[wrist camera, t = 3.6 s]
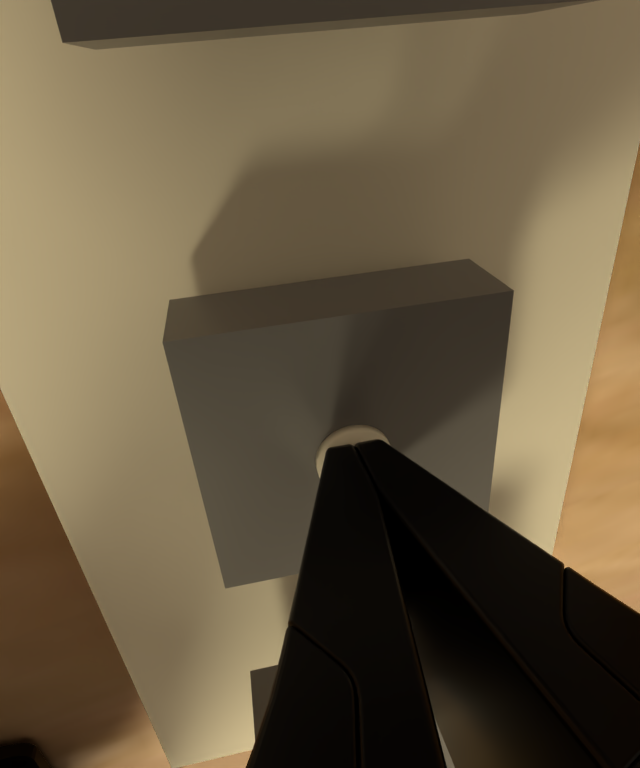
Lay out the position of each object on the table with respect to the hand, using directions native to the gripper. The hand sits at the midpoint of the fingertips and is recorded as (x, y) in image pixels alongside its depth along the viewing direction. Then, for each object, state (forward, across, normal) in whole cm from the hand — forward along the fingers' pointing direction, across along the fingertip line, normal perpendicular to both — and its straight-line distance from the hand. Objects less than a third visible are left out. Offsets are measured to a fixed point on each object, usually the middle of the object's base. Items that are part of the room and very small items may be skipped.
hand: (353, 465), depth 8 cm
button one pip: (+2, 0, 0) cm, 2 cm away
